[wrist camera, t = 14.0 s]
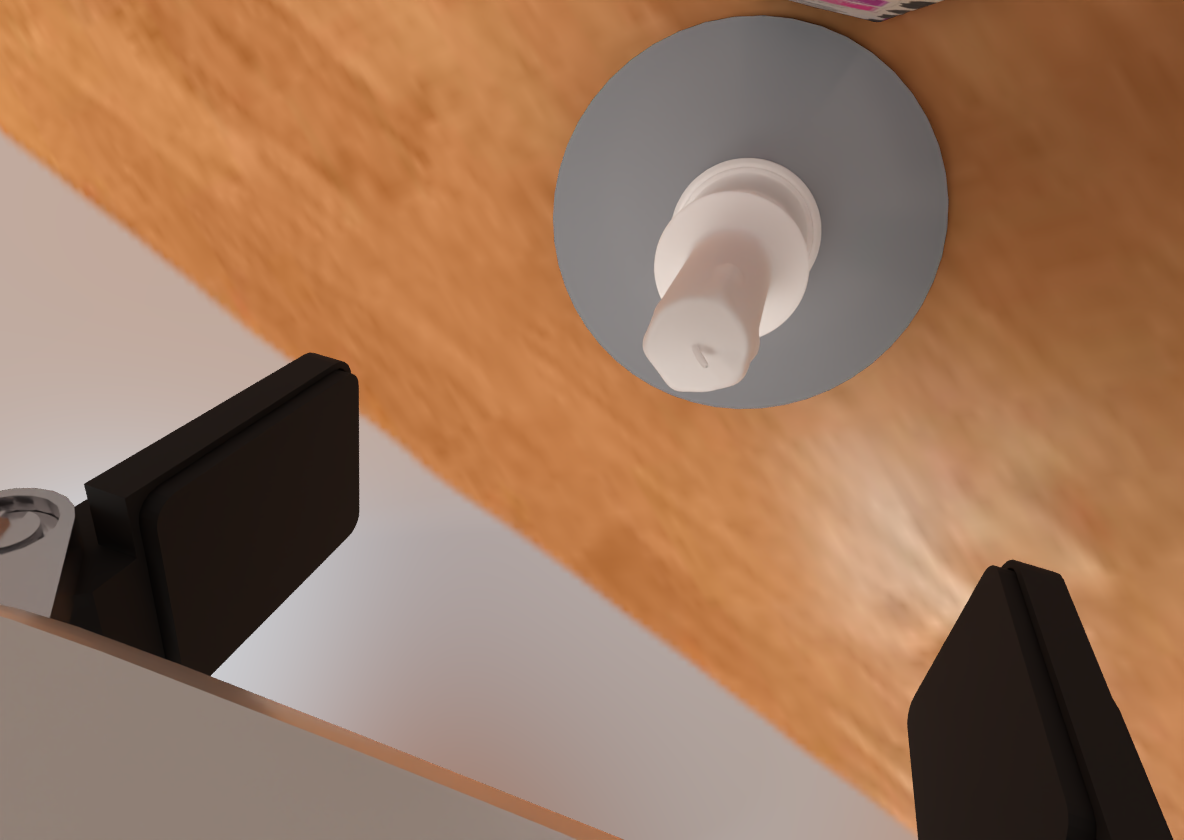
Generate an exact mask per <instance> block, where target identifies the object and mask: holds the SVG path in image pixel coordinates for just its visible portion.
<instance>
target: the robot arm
mask: <svg viewBox="0 0 1184 840" xmlns="http://www.w3.org/2000/svg"><path fill="white" fill-rule="evenodd" d="M84 485H85V490H86V494H87V498H88V499H87V500H85V501H83V502H82V503H80V504H79V505H77V506H75V507H74V505H73V504H72V503H71V502H70V500H69V499H68V498H67V497H66V496H63V495H61V494H59V493H57V492H54V491H50V490H44V489H38V488H14V489H8V490H2V491H0V840H623V839H621V838H618V837H616V836H613V835H611V834H608V833H606V832H603V831H601V830H598V829H596V828H593V827H591V826H588V825H586V824H583V823H581V822H578V821H576V820H573V819H571V818H568V817H566V816H563V815H561V814H558V813H555V812H553V811H551V810H548V809H545V808H543V807H541V806H538V805H536V804H533V803H530V802H528V801H525V800H523V799H521V798H518V797H516V796H513V795H511V794H508V793H505V792H503V791H501V790H498V789H496V788H493V787H490V786H488V785H485V784H483V783H480V782H478V781H475V780H473V779H470V778H468V777H465V776H463V775H460V774H457V773H455V772H453V771H450V770H448V769H445V768H443V767H440V766H438V765H435V764H433V763H430V762H427V761H425V760H422V759H420V758H417V757H415V756H412V755H410V754H407V753H405V752H402V751H399V750H397V749H395V748H392V747H390V746H387V745H385V744H382V743H379V742H377V741H374V740H372V739H369V738H367V737H364V736H362V735H359V734H357V733H354V732H352V731H349V730H346V729H344V728H341V727H339V726H336V725H334V724H331V723H329V722H326V721H323V720H321V719H318V718H316V717H313V716H310V715H308V714H306V713H303V712H300V711H298V710H295V709H292V708H290V707H288V706H285V705H282V704H280V703H277V702H274V701H272V700H270V699H267V698H265V697H262V696H259V695H257V694H254V693H252V692H249V691H246V690H244V689H242V688H239V687H236V686H234V685H231V684H229V683H226V682H224V681H221V680H218V679H216V678H213V677H211V675H212V674H213V673H214V672H215V671H216V670H217V669H218V668H219V667H220V666H221V665H222V663H224V662H225V661H226V660H227V659H228V658H229V657H230V656H231V654H233V652H234V651H235V650H236V649H237V648H238V647H239V646H240V645H241V644H242V643H243V642H244V641H245V640H246V639H247V638H248V637H249V636H250V635H251V634H252V633H253V632H254V631H255V630H256V629H257V628H258V627H259V626H260V625H261V624H262V623H263V622H264V621H265V620H266V619H267V618H268V617H269V616H270V615H271V614H272V613H273V612H274V611H275V610H276V609H277V608H278V607H279V606H280V605H281V604H282V603H283V602H284V601H285V600H286V599H287V598H288V597H289V596H290V595H291V594H292V593H293V592H294V591H295V590H296V589H297V588H298V587H299V586H300V585H301V584H302V583H303V582H304V581H305V580H306V579H307V578H308V577H309V576H310V575H311V574H312V573H313V572H314V571H315V570H316V569H317V568H318V567H319V566H320V564H322V563H323V562H324V561H325V560H326V558H328V556H329V555H331V553H332V552H333V551H335V550H336V548H337V547H338V546H340V544H341V543H342V542H343V541H344V540H345V539H346V538H347V537H348V536H349V535H350V534H351V533H352V531H353V530H354V528H355V526H356V523H357V521H358V517H359V385H358V379H357V377H356V376H355V375H354V374H351V370H350V368H349V366H348V364H346V363H345V362H343V361H339V360H336V359H332V358H329V357H326V356H322V355H319V354H316V353H307V354H304V355H303V356H301V357H299V358H298V359H296V360H294V361H293V362H291V363H289V364H287V365H286V366H284V367H282V368H281V369H279V370H277V371H276V372H274V373H272V374H270V375H269V376H267V377H265V378H264V379H262V380H260V381H259V382H257V383H255V384H253V385H252V386H250V387H248V388H247V389H245V390H243V391H242V392H240V393H238V394H236V395H235V396H233V397H231V398H230V399H228V400H226V401H225V402H223V403H221V404H219V405H218V406H216V407H214V408H213V409H211V410H209V411H207V412H206V413H204V414H202V415H201V416H199V417H197V418H196V419H194V420H192V421H191V422H189V423H187V424H186V425H184V426H182V427H180V428H178V429H177V430H175V431H173V432H172V433H170V434H168V435H167V436H165V437H163V438H162V439H160V440H158V441H157V442H155V443H153V444H151V445H150V446H148V447H146V448H144V449H143V450H141V451H139V452H138V453H136V454H135V455H133V456H131V457H129V458H128V459H126V460H124V461H123V462H121V463H119V464H117V465H116V466H114V467H112V468H110V469H109V470H107V471H105V472H104V473H102V474H100V475H99V476H97V477H95V478H93V479H92V480H90V481H88V482H87V483H85V484H84ZM907 725H908V738H909V748H910V758H911V769H912V779H913V790H914V800H915V810H916V821H917V831H918V840H1173V838H1172V835H1171V833H1170V830H1169V828H1168V826H1167V823H1166V821H1165V818H1164V816H1163V814H1162V811H1161V809H1160V806H1159V804H1158V801H1157V799H1156V797H1155V794H1154V792H1153V789H1152V787H1151V785H1150V782H1149V780H1148V777H1147V775H1146V773H1145V770H1144V768H1143V765H1142V763H1141V761H1140V758H1139V756H1138V753H1137V751H1136V748H1135V746H1134V744H1133V741H1132V739H1131V736H1130V734H1129V732H1128V729H1127V727H1126V724H1125V722H1124V720H1123V717H1122V715H1121V712H1120V710H1119V708H1118V707H1117V705H1116V703H1115V702H1114V700H1113V698H1112V696H1111V694H1110V691H1109V689H1108V686H1107V684H1106V681H1105V679H1104V677H1103V674H1102V672H1101V669H1100V667H1099V664H1098V662H1097V660H1096V657H1095V655H1094V652H1093V650H1092V647H1091V645H1090V642H1089V640H1088V638H1087V635H1086V633H1085V630H1084V628H1083V625H1082V623H1081V621H1080V618H1079V616H1078V613H1077V611H1076V608H1075V606H1074V604H1073V601H1072V599H1071V596H1070V594H1069V591H1068V589H1067V587H1066V584H1065V582H1064V579H1063V578H1062V576H1061V575H1060V574H1058V573H1056V572H1053V571H1049V570H1046V569H1043V568H1039V567H1036V566H1032V565H1029V564H1026V563H1022V562H1019V561H1016V560H1009V561H1007V562H1006V563H1005V564H1004V565H1003V566H1002V567H997V566H994V565H992V566H990V567H988V568H987V569H986V571H985V572H984V574H983V575H982V577H981V579H980V581H979V582H978V584H977V586H976V588H975V589H974V591H973V593H972V595H971V597H970V598H969V600H968V602H967V604H966V605H965V607H964V609H963V611H962V613H961V614H960V616H959V618H958V620H957V621H956V623H955V625H954V627H953V628H952V630H951V632H950V634H949V636H948V637H947V639H946V641H945V643H944V644H943V646H942V648H941V650H940V652H939V653H938V655H937V657H936V659H935V660H934V662H933V664H932V666H931V668H930V669H929V671H928V673H927V675H926V676H925V678H924V680H923V682H922V684H921V685H920V687H919V689H918V691H917V692H916V694H915V696H914V698H913V700H912V702H911V705H910V708H909V713H908V721H907Z"/></svg>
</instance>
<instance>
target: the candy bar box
mask: <svg viewBox="0 0 1184 840" xmlns="http://www.w3.org/2000/svg"><path fill="white" fill-rule="evenodd" d="M790 1H794V2H798V3H801V4H805V5H809V6H812V7H816V8H821V9H825V10H829V11H833V12H837V13H841V14H845V15H849V16H854V17H858V18H862V19H866V20H869V21H873V22H881V21H884V20H886V19H889V18H892V17H895V16H897V15H902V14H904V13H906V12H909V11H911V10H916V9H919V8H922V7H925V6H928V5H931V4H934V3H937V2H940V1H943V0H790Z"/></svg>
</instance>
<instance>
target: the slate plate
mask: <svg viewBox="0 0 1184 840" xmlns="http://www.w3.org/2000/svg"><path fill="white" fill-rule="evenodd" d="M738 158H758V159H764V160H768V161H771V162H774V163H777V164H779V165H781V166H783V167H785V168H787V169H788V170H790V171H791V172H793V173H794V174H795V175H796V176H798V177H799V178H800V179H801V180H802V181H803V183H804V184H805V185H806V186H807V187H808V189H809V190H810V192H811V194H812V195H813V197H814V199H815V201H816V204H817V207H818V210H819V214H820V219H821V242H820V247H819V251H818V254H817V257H816V260H815V262H814V264H813V266H812V268H811V270H810V271H809V278H808V283H807V287H806V290H805V293H804V295H803V297H802V299H801V301H800V303H799V305H798V306H797V308H796V309H795V311H794V312H793V313H792V314H791V316H790V317H789V318H788V319H787V320H786V321H785V322H784V323H783V324H781V325H780V326H779V327H777V328H776V329H774V330H773V331H771V332H769V333H768V334H766V335H763V336H761V337H759V338H760V346H759V350H758V353H757V355H756V356H755V357H754V359H753V360H752V361H751V362H750V365H749V368H748V371H747V373H746V375H745V376H744V378H743V379H742V380H741V381H740V382H739V383H737V384H735V385H733V386H730V387H726V388H722V389H717V390H713V391H708V392H680V391H676V390H673V389H672V388H670V387H669V386H668V385H667V384H666V383H665V381H664V380H663V378H662V377H661V376H660V374H659V373H658V371H657V370H656V369H655V367H654V366H653V365H652V364H651V362H650V361H649V360H648V358H647V357H646V355H645V353H644V350H643V338H644V335H645V333H646V331H647V329H648V326H649V324H650V321H651V319H652V316H653V314H654V310H655V308H656V306H657V304H658V303H659V302H660V301H661V297H660V295H659V292H658V289H657V286H656V281H655V274H654V260H655V253H656V249H657V245H658V242H659V240H660V237H661V235H662V233H663V231H664V229H665V228H666V226H667V225H668V223H669V222H670V221H671V219H672V217H673V213H674V210H675V207H676V205H677V203H678V201H679V199H680V197H681V195H682V194H683V192H684V191H685V190H686V188H687V187H688V186H689V185H690V183H691V182H692V181H693V180H694V179H695V178H697V177H698V176H699V175H700V174H701V173H703V172H704V171H706V170H707V169H709V168H711V167H713V166H715V165H717V164H719V163H722V162H725V161H728V160H732V159H738ZM947 222H948V191H947V181H946V172H945V168H944V164H943V160H942V156H941V152H940V148H939V144H938V142H937V139H936V137H935V135H934V132H933V130H932V127H931V125H930V123H929V120H928V118H927V116H926V115H925V113H924V112H923V110H922V108H921V107H920V105H919V103H918V102H917V100H916V98H915V97H914V95H913V94H912V92H911V91H910V90H909V89H908V88H907V87H906V85H905V84H904V83H903V82H902V81H901V79H900V78H899V77H898V76H897V75H896V74H895V72H894V71H893V70H891V69H890V68H889V67H888V66H887V65H886V64H884V63H883V62H882V61H881V60H880V59H879V58H878V57H876V56H875V55H874V54H873V53H872V52H870V51H868V50H867V49H865V48H864V47H862V46H860V45H859V44H857V43H856V42H854V41H852V40H851V39H849V38H848V37H845V36H843V35H841V34H838V33H836V32H834V31H831V30H829V29H827V28H824V27H822V26H819V25H815V24H812V23H808V22H804V21H800V20H796V19H792V18H782V17H773V16H741V17H731V18H725V19H720V20H715V21H710V22H705V23H702V24H699V25H696V26H693V27H691V28H688V29H685V30H682V31H679V32H677V33H675V34H673V35H671V36H669V37H667V38H665V39H663V40H661V41H659V42H657V43H655V44H653V45H652V46H650V47H649V48H647V49H646V50H645V51H643V52H642V53H640V54H639V55H637V56H636V57H634V58H633V59H632V60H630V61H629V62H628V63H627V64H626V65H625V66H624V67H623V68H621V69H620V70H619V71H618V72H617V73H616V74H615V75H614V76H613V77H612V78H611V79H610V80H609V81H608V82H607V83H606V84H605V85H604V87H603V88H602V89H601V90H600V91H599V93H598V94H597V95H596V96H595V97H594V99H593V100H592V101H591V103H590V105H589V106H588V108H587V109H586V111H585V112H584V114H583V115H582V117H581V119H580V120H579V122H578V124H577V126H576V128H575V130H574V132H573V134H572V136H571V139H570V141H569V143H568V145H567V148H566V151H565V154H564V157H563V160H562V163H561V166H560V169H559V174H558V180H557V185H556V190H555V198H554V213H553V224H554V242H555V247H556V253H557V258H558V264H559V268H560V271H561V274H562V277H563V280H564V284H565V287H566V289H567V291H568V294H569V296H570V298H571V300H572V303H573V305H574V307H575V309H576V310H577V312H578V314H579V315H580V317H581V319H582V320H583V322H584V324H585V325H586V327H587V328H588V330H589V331H590V332H591V333H592V335H593V336H594V337H595V339H596V340H597V341H598V343H599V344H600V345H601V346H602V347H603V348H604V349H605V350H606V351H607V352H608V353H609V354H610V355H611V356H612V357H613V358H614V359H615V360H616V361H617V362H618V363H620V364H621V365H622V366H623V367H625V368H626V369H627V370H628V371H630V372H631V373H632V374H634V375H635V376H637V377H638V378H640V379H642V380H643V381H645V382H647V383H648V384H650V385H651V386H653V387H656V388H658V389H660V390H662V391H664V392H666V393H668V394H670V395H673V396H676V397H679V398H682V399H685V400H688V401H691V402H694V403H699V404H704V405H709V406H713V407H723V408H734V409H752V408H766V407H773V406H780V405H786V404H789V403H793V402H797V401H801V400H805V399H808V398H810V397H813V396H815V395H818V394H821V393H823V392H826V391H828V390H830V389H832V388H834V387H836V386H838V385H840V384H841V383H843V382H845V381H847V380H849V379H851V378H852V377H854V376H855V375H856V374H858V373H859V372H861V371H862V370H864V369H865V368H866V367H868V366H869V365H871V364H872V363H873V362H874V361H875V360H876V359H877V358H879V357H880V356H881V355H882V354H883V353H884V352H885V351H886V350H887V349H888V348H890V347H891V345H892V344H893V343H894V342H895V341H896V340H897V339H898V337H899V336H900V335H901V334H902V333H903V332H904V330H905V329H906V328H907V327H908V325H909V324H910V322H911V321H912V319H913V318H914V316H915V315H916V313H917V312H918V310H919V309H920V307H921V306H922V304H923V302H924V300H925V298H926V296H927V293H928V291H929V289H930V287H931V285H932V283H933V281H934V278H935V275H936V272H937V269H938V266H939V263H940V260H941V257H942V253H943V248H944V243H945V237H946V232H947Z"/></svg>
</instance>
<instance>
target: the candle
mask: <svg viewBox="0 0 1184 840" xmlns="http://www.w3.org/2000/svg"><path fill="white" fill-rule="evenodd" d="M820 242H821V219H820V214H819V210H818V207H817V204H816V201H815V199H814V197H813V195H812V194H811V192H810V190H809V189H808V187H807V186H806V185H805V184H804V183H803V181H802V180H801V179H800V178H799V177H798V176H796V175H795V174H794V173H793V172H791V171H790V170H788V169H787V168H785V167H783V166H781V165H779V164H777V163H774V162H771V161H768V160H764V159H758V158H738V159H732V160H728V161H725V162H722V163H719V164H717V165H715V166H713V167H711V168H709V169H707V170H706V171H704V172H703V173H701V174H700V175H699V176H698V177H697V178H695V179H694V180H693V181H692V182H691V183H690V185H689V186H688V187H687V188H686V190H685V191H684V192H683V194H682V195H681V197H680V199H679V201H678V203H677V205H676V207H675V210H674V213H673V217H672V219H671V221H670V222H669V223H668V225H667V226H666V228H665V229H664V231H663V233H662V235H661V237H660V240H659V242H658V245H657V249H656V253H655V260H654V274H655V281H656V286H657V289H658V292H659V295H660V297H661V301H660V302H659V303H658V304H657V306H656V308H655V310H654V314H653V316H652V319H651V321H650V324H649V326H648V329H647V331H646V333H645V335H644V338H643V350H644V353H645V355H646V357H647V358H648V360H649V361H650V362H651V364H652V365H653V366H654V367H655V369H656V370H657V371H658V373H659V374H660V376H661V377H662V378H663V380H664V381H665V383H666V384H667V385H668V386H669V387H670V388H672V389H673V390H676V391H680V392H708V391H713V390H717V389H722V388H726V387H730V386H733V385H735V384H737V383H739V382H740V381H741V380H742V379H743V378H744V376H745V375H746V373H747V371H748V368H749V365H750V362H751V361H752V360H753V359H754V357H755V356H756V355H757V353H758V350H759V346H760V338H759V337H761V336H763V335H766V334H768V333H769V332H771V331H773V330H774V329H776V328H777V327H779V326H780V325H781V324H783V323H784V322H785V321H786V320H787V319H788V318H789V317H790V316H791V314H792V313H793V312H794V311H795V309H796V308H797V306H798V305H799V303H800V301H801V299H802V297H803V295H804V293H805V290H806V287H807V283H808V278H809V271H810V270H811V268H812V266H813V264H814V262H815V260H816V257H817V254H818V251H819V247H820Z"/></svg>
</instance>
